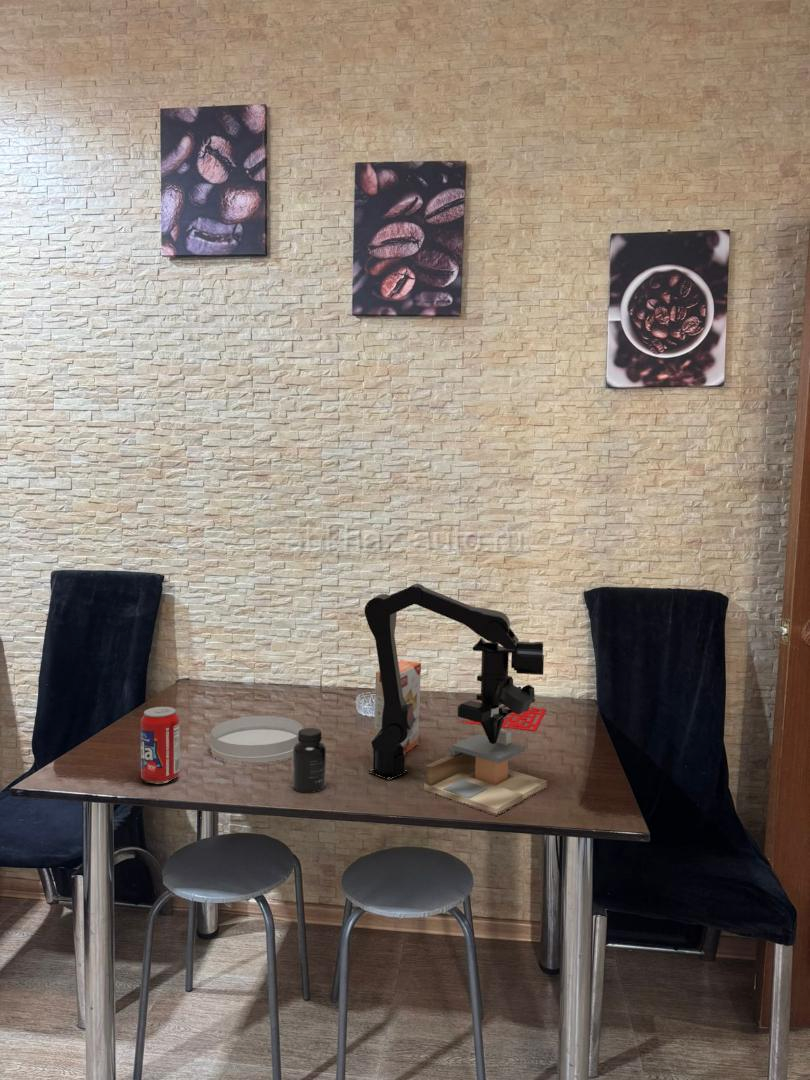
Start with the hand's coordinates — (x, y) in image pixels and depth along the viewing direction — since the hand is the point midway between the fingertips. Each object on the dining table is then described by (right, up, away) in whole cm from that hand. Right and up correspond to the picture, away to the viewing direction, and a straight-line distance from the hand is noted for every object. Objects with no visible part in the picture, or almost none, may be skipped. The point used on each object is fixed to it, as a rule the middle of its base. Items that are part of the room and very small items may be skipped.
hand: (492, 743), depth 162 cm
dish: (-54, -7, +19) cm, 58 cm away
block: (0, -9, +1) cm, 9 cm away
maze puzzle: (+9, -6, +48) cm, 49 cm away
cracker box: (-21, -7, +18) cm, 28 cm away
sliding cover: (-1, -3, +1) cm, 3 cm away
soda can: (-71, -8, -1) cm, 72 cm away
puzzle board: (-2, -9, -3) cm, 10 cm away
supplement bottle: (-39, -9, -3) cm, 40 cm away
